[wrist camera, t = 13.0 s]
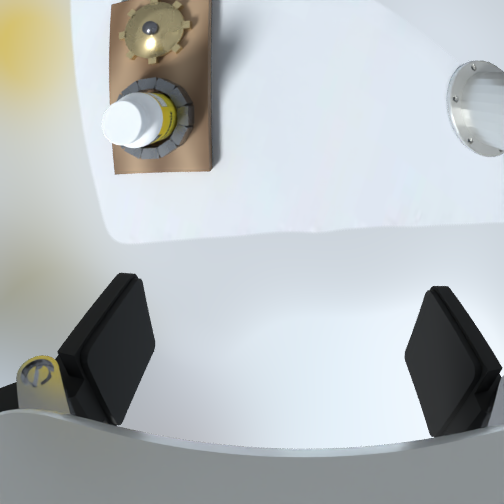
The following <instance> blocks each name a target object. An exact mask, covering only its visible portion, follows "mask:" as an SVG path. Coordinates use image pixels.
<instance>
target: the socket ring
mask: <svg viewBox="0 0 504 504" xmlns="http://www.w3.org/2000/svg"><path fill="white" fill-rule="evenodd" d="M149 90H159V91H162V92H164V93H166V94H168V95H169V97H170V98H171V100H172V101H173V103H174V105H175V106H176V108H177V126H176V128H175V130H174V132H173V134H172V136H171V138H170V139H169V140H168V141H166V142H165V143H163V144H162V145H146V146H143V147H139V148H129V147H126V146H124V145H120V146H121V148H122V149H124V148H125V150H124V151H125V152H127V153H129V154H131V155H133V156H135V157H136V158H138V159H140V158H141V160H142V159H159V158H162V157H164V156H166V155H168V154H170V153H171V152H173V151H174V150H176V149H177V148H179V147H180V146H182V145H184V144H183V143H185V142H186V140H187V138H188V137H189V135H190V133H191V131H192V129H193V127H194V126H192V124H195V122H194V105H193V106H190V105H191V104H193V102H192V100H191V98H190V97H189V95H188V94H187V92H186V90H185V89H184V88H182V86H180V85H178V84H176V83H174V82H172V81H170V80H168V79H164V78H158V77H154V78H147V79H140V80H138V81H135V82H133V83H132V84H131V85H130V86H128V87H127V88H126V89H124V90H123V91H122V92H121V93H122V94H119V96H118V99H117V101H118V100H120V99H121V98H122V97H124V96H125V95H128V94H131V93H137V92H141V93H146V92H147V91H149ZM117 101H116V102H117Z"/></svg>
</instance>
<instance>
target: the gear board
mask: <svg viewBox="0 0 504 504" xmlns="http://www.w3.org/2000/svg"><path fill="white" fill-rule="evenodd" d="M175 1H176V0H161V2H165V3H169V4H171V5H172V4H173V3H174V2H175ZM177 1H178V2H179V3H181V4H182V5H183V6H184V8H183V9H182V10H181V11H180V12H181V13H182V14H183V16H184V19H185V21H189V20H190V21H191V22H192V30H185V34H184V37H183V39H182V41H181V43H180V44H179V45H180V46H182V47H183V49H182V50H181V51H180V53H179V54H177V53H175V52H174V51H172V52H171V53H169V54H168V55H166V56H163V57H161V58H159V64H155V65H150V64H148V59H146V58H142V57H139V56H137V58H136V59H135V60H131V59H129V58H128V57H127V56H126V54H127V53H128V52H129V51H130V50H129V49H128V47H127V45H126V43H125V40H123V41H122V40H119V32H124V31H125V28H126V25H127V23H128V21H129V19H130V18H131V17H130V16H128V15H127V14H128V13H129V12H130V10H131V9H134V10H136V11H137V10H139V9H140V8H142V7H143V6H145V5H148V4H150V0H128V1H124V2H120V3H116V4H113V5H111V21H110V47H109V91H110V105H111V104H113V103H114V102H116V101H117V99H118V96H119V94H122V93H121V92H122V91H123V90H124V89H126V88H127V87H128V86H130V85H131V84H132V83H133V82H135V81H138V80H140V79H147V78H154V77H158V78H164V79H168V80H170V81H172V82H174V83H176V84H178V85H180V86H182V88H184V89H185V90H186V92H187V94H188V95H189V97H190V98H191V100H192V102H193V104H191V105H190V106H193V105H194V122H195V124H192V126H194V127H193V129H192V131H191V133H190V135H189V137H188V138H187V140H186V142H185V143H183V144H184V145H182V146H180V147H179V148H177V149H176V150H174V151H173V152H171V153H170V154H168V155H166V156H164V157H162V158H159V159H142V160H141V158H140V159H138V158H136V157H135V156H133V155H131V154H129V153H127V152H125V151H124V150H125V148H124V149H122V148H121V146H120V145H116V144H113V143H112V148H113V160H114V170H115V174H132V173H155V172H201V171H211V170H212V139H211V8H212V0H177ZM146 93H162V94H166V93H164V92H162V91H159V90H149V91H147V92H146ZM166 95H168V94H166ZM171 136H172V135H171ZM171 136H169V137H167V138H165V139H163V140H160V141H157V142H154V143H152V144H149V145H162V144H163V143H165V142H166V141H168V140H169V139H170V138H171Z"/></svg>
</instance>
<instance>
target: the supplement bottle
mask: <svg viewBox="0 0 504 504" xmlns="http://www.w3.org/2000/svg"><path fill="white" fill-rule="evenodd" d="M176 126H177V108H176V106H175V105H174V103H173V101H172V100H171V98H170V97H169V95H166V94H162V93H141V92H137V93H131V94H128V95H125V96H124V97H122V98H121V99H120V100H118V101H117V102H114V103H113V104H111V105H110V106H109V107H108V108H107V109H106V111H105V113H104V115H103V118H102V129H103V133H104V135H105V137H106V138H107V139H108V140H109V141H110V142H112V143H113V144H116V145H124V146H126V147H129V148H139V147H143V146H146V145H149V144H152V143H154V142H157V141H160V140H163V139H165V138H167V137H169V136H171V135H172V134H173V132H174V130H175V128H176Z"/></svg>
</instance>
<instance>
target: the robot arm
mask: <svg viewBox="0 0 504 504" xmlns="http://www.w3.org/2000/svg"><path fill="white" fill-rule="evenodd" d="M453 98H454V100H453ZM447 108H448V114H449V118H450V121H451V124H452V127H453V129H454V131H455V133H456V135H457V136H458V138H459V139H460V140H461V142H462V143H463V144H464V145H465V146H466V147H467V148H468V149H470V150H471V151H473V152H474V153H477V154H479V155H482V156H486V157H496V156H499V155H502V154H503V153H504V72H503V71H502V70H501V69H499V68H498V67H497V66H495V65H493V64H491V63H489V62H485V61H471V62H468V63H465V64H463V65H462V66H460V67H459V68H458V69H457V70H456V72H455V73H454V74H453V76H452V78H451V80H450V83H449V87H448V92H447ZM154 349H155V339H154V335H153V330H152V326H151V321H150V316H149V312H148V307H147V302H146V298H145V292H144V287H143V282H142V280H141V279H138V277H137V275H136V274H129V273H119V274H118V275H117V276H116V277H115V278H114V279H113V280H112V282H111V283H110V284H109V285H108V287H107V288H106V289H105V290H104V291H103V293H102V294H101V295H100V297H99V298H98V299H97V300H96V302H95V303H94V304H93V305H92V307H91V308H90V309H89V310H88V312H87V313H86V314H85V315H84V317H83V318H82V319H81V321H80V322H79V323H78V325H77V326H76V327H75V328H74V330H73V331H72V332H71V334H70V335H69V336H68V338H67V339H66V341H65V342H64V343H63V345H62V346H61V347H60V349H59V350H58V354H59V355H58V356H57V358H56V359H54V358H52V357H49V356H43V355H41V356H35V357H33V358H31V359H29V360H27V361H26V362H25V363H23V365H22V366H21V367H20V368H19V370H18V373H17V377H16V381H17V382H16V383H13V384H10V385H7V386H5V387H2V388H0V504H504V376H503V377H501V376H500V374H499V373H500V371H501V370H502V366H501V365H500V363H499V361H498V360H497V358H496V356H495V355H494V353H493V351H492V350H491V348H490V347H489V345H488V343H487V342H486V340H485V339H484V337H483V335H482V334H481V332H480V331H479V329H478V328H477V326H476V325H475V323H474V322H473V320H472V319H471V318H470V316H469V314H468V313H467V312H466V310H465V309H464V307H463V306H462V304H461V303H460V302H459V300H458V299H457V297H456V296H455V295H454V293H453V292H452V291H451V289H450V288H449V287H448V286H433V287H431V289H430V290H428V291H427V292H426V294H425V296H424V300H423V303H422V306H421V309H420V312H419V315H418V318H417V321H416V323H415V326H414V329H413V332H412V335H411V337H410V340H409V343H408V345H407V348H406V351H405V362H406V364H407V367H408V370H409V372H410V375H411V378H412V381H413V384H414V386H415V390H416V392H417V395H418V398H419V401H420V404H421V407H422V411H423V414H424V417H425V420H426V423H427V427H428V430H429V433H430V435H431V436H432V437H434V438H429V439H424V440H417V441H411V442H403V443H395V444H387V445H377V446H366V447H353V448H352V447H351V448H332V449H277V448H257V447H243V446H232V445H221V444H211V443H204V442H197V441H190V440H184V439H177V438H171V437H165V436H160V435H155V434H150V433H145V432H141V431H136V430H130V429H127V428H122V427H117V425H121V424H122V422H123V420H124V417H125V415H126V413H127V410H128V408H129V406H130V403H131V401H132V399H133V397H134V394H135V392H136V390H137V387H138V385H139V383H140V381H141V378H142V376H143V374H144V371H145V369H146V367H147V365H148V363H149V360H150V358H151V356H152V354H153V352H154Z"/></svg>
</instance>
